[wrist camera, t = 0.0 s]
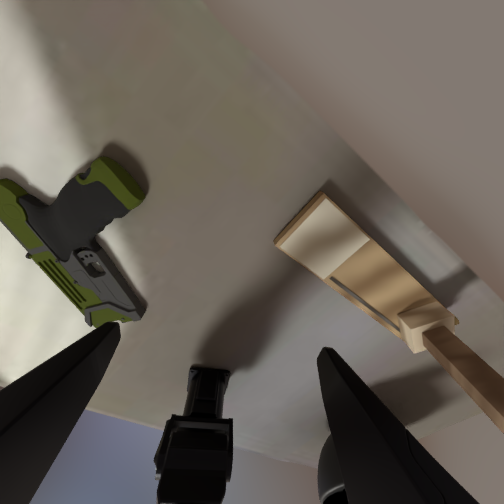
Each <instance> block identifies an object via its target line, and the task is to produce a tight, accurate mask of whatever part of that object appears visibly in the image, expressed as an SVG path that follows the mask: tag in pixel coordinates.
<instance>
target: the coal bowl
mask: <svg viewBox="0 0 504 504" xmlns="http://www.w3.org/2000/svg"><path fill="white" fill-rule="evenodd" d="M318 493H319V499H320V502H321V504H349V502H348V498H347V494H346V490H345V486H344V482H343V478H342V474H341V470H340V466H339V462H338V458H337V454H336V450H335V446H334V442H333V438H332V434H330V436H329V437H328V439H327V440H326V442H325V444H324V446H323V448H322V451H321V455H320V459H319V464H318Z"/></svg>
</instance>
